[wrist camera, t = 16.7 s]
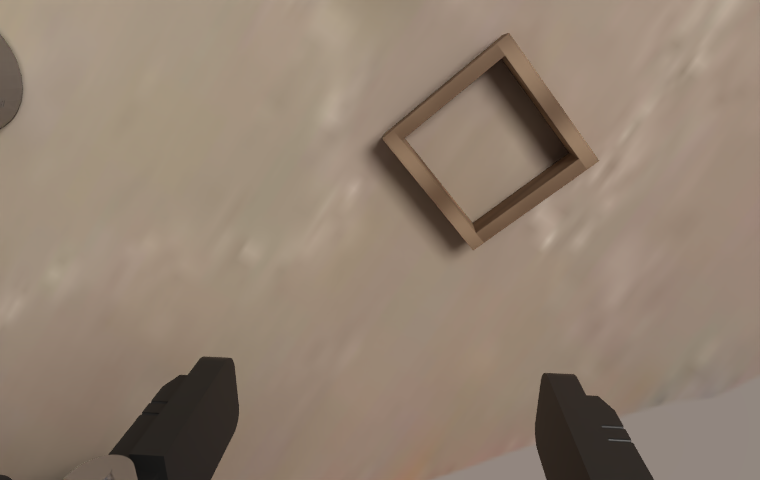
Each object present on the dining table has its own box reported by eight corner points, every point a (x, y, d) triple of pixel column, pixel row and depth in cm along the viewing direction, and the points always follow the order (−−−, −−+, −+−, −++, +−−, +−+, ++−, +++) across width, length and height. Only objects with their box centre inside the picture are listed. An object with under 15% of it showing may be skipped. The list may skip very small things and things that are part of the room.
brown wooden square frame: (384, 134, 38) (382, 138, 36) (502, 34, 36) (508, 32, 33) (470, 239, 41) (473, 250, 38) (588, 154, 38) (599, 160, 35)
